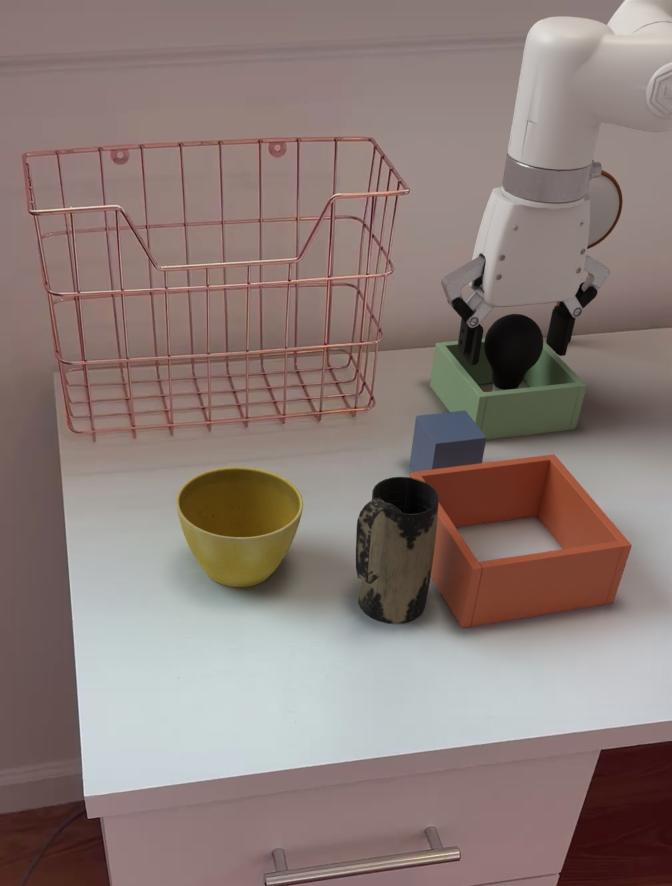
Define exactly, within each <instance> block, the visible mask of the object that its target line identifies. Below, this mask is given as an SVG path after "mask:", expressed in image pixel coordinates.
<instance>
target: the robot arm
mask: <svg viewBox="0 0 672 886" xmlns="http://www.w3.org/2000/svg"><path fill="white" fill-rule="evenodd" d="M522 53H523V54H522V59H521V66H520V73H519V77H518V78H519V79H518V86H517V90H516V91H517V92H516V98H515V104H514V110H513V116H512V122H511V129H510V133H509V134H510V135H509V140H508V147H507V153H506V158H505V166H504V171H503V175H502V176H503V177H502V184H501V186H500V187H494V188H493V189H492V191H491V193H490V196H489V198H488V201H487V203H486V206H485V208H484V212H483V215H482V218H481V221H480V225H479V228H478V232H477V236H476V239H475V244H474V249H473V253H472V257H471V261H469V262H467V263H465V264H464V265H462V266H460V267H459V268H456V269H455V270H453V271H452V272H449V273H448V274H446V275H445V276H443V277H442V278H441V279H440V280H441V281H440V283H441V287H442V290H443V292H444V295H445V297H446V300H447V304H449V306H450V307H451V308H452V309H453V311H455V312H456V314H457V315H458V316H459V317H460V318H461V320H460V327H459V333H458V339H457V341H458V350H459V352H460V353H461V354H462V356H463V357H464V358H465V359H466V360H467V362H468V363H469V364H470V365H476V364H477V363H478V361H479V355H480V349H481V343H482V339H483V338H484V327H483V326H482V325H481V323H482V322H483V321H484V319H485V318H487V316H488V315H489V314H490V313H491V311H492V310H493V309H494V308H508V307H510V308H511V307H524V306H532V305H543V304H544V305H545V304H555V303H557V302H559V306H556V305H554V307H553V308H552V311H551V316H550V321H549V326H548V330H547V334H546V340H545V343H546V344H547V345H548V346H549V347H550V348H551V349H552V350H553V351H554V352H555V353H556V354H557V355H558V356H559V357H564V356H566V354H567V352H568V347H569V344H570V343H571V340H572V335H573V332H574V327H575V323H576V319H578V318H580V317H581V316H582V315H583V312H584V309H585V308H586V307H587V306H588V305H589V304H590V303H591V302H593V300H594V299H595V298H596V297H597V295H598V290H599V289H601V287H602V286H603V285H604V283H605V282H606V281H607V279H608V277H609V276H610V274H611V269H609V268H608V267H607V266H606V265H605V264H603V263H602V262H600V261H599V260H597V259H595V258H593V257H591V256H589V255H588V254H587V253H588V252H587V251H588V249H587V246H588V237H589V225H590V196H589V195H588V194H587V193H586V190H587V189H588V185H589V180H591V179H592V178H598V177H599V176H600V175H601V171H602V170H603V169H602V168H603V166H602V164H601V161H595V160H594V156H595V151H596V146H597V142H598V137H599V132H600V129H601V123H605V124H610V125H615V126H620V127H624V128H628V129H632V130H636V131H641V132H642V131H643V132H649V133H664V132H670V131H672V0H623V2H622V3H621V4H620V6H619V7H618V8H617V9H616V11H615V12H614V13H613V15H612V16H611V18H610V19H609V20H608V22H607V24H605V23H604V22H601V21H598V20H595V19H590V18H585V17H578V16H565V15H564V16H550V17H546V18H543V19H540V20H537V22H535V23H534V24H533V25H532V27H530V29H529V31H528V32H527V35H526V38H525V43H524V47H523V52H522ZM584 272H586V273H587V276H586V277H585V280H584V281H583V282H582V279H583V274H584ZM467 285H468V286H469V288H470V289H472V290H473V291H471V292H470V294H469V295H468V296H467V297H466V298H465V300H464V297H463V294H462V289H463V288H464V287H465V286H467Z"/></svg>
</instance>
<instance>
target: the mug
mask: <svg viewBox="0 0 672 886" xmlns="http://www.w3.org/2000/svg"><path fill="white" fill-rule="evenodd" d="M371 495H372V496H371V500H370V501H369V502H367V503H366V504H365V505H364V506H363V508H362V509H361V510H360V512H359V515H358V517H357V519H356V536H355V537H356V538H355V570H356V575H357V579H359V580H361V583H360V586H359V587H360V588H359V592H358V596H357V597H358V598H357V600H358V601H357V603H358V605H359V608H360V609H361V611H362V612H363V613H364V614H365V615H366V616H368V617H369V618H370V619H372V620H374V621H377V622H380V623H384V624H390V625H400V624H401V625H402V624H406V623H410V622H413V621H415V620H416V619H418V618H420V617H421V615H422V614H423V613H424V610H425V608H426V604H427V598H428V595H429V590H430V582H431V570H432V564H433V557H434V549H435V540H436V530H437V521H438V502H439V498H438V494H437V492H436V490H435V489H434V488H433V487H432V486H431V485H429V484H427V483H426V482H424V481H421V480H418V479H415V478H410V476H409V477H408V476H394V477H388V478H385V479H382V480H381V481H378V483H377V484H375V485H374V487H373V488H372V492H371Z"/></svg>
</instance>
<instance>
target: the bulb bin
mask: <svg viewBox="0 0 672 886" xmlns="http://www.w3.org/2000/svg"><path fill="white" fill-rule="evenodd" d="M484 341H485V337H482V343H481V349H480V355H479V361H478V363H477V364H476V365H470V364H469V363H468V362H467V360H466V359H465V358H464V357H463V356H462V354H461V353H460V352H459V350H458V340H453V341H443V342H441V341H440V342H436V343H435V348H434V354H433V360H432V361H433V362H432V368H431V375H430V381H429V386H430V388H431V389H432V390H433V392H434V393H435V394H436V396H437V397H438V399H439V400H440V402H441V403H442V404H443V405H444V407H445V408H446V409H447V411H448V412H455V411H464V410H465V411H466V412H467V413H468V414H469V416H470V417H471V418H472V419H473V421H474V422H475V423H476V425H477V426H478V427H479V428H480V430H481V431H482V432H483V434H484V435H485V436H486V441H489V440H496V439H504V438H513V437H520V436H521V437H522V436H529V435H530V436H531V435H538V434H546V433H547V434H548V433H555V432H564V431H570V430H571V431H572V430H576V429H577V426H578V422H579V418H580V415H581V410H582V407H583V402H584V398H585V394H586V390H587V384H586V383H585V382H584V380H582V378H581V377H580V376H579V375H577V373H575V372H574V370H573V369H571V368H570V367H569V365H568V364H566V362H564V361H563V359H562V358H560V357H561V356H559V355H557V354H556V353H555V352H554V351H553V350H552V349H551V348H550V347H549V345H548V344H547V343H546V341H544V340H543V350H542V353H541V356H540V358H539V360H538V361H537V362H536V364H535V365H534V366H533V367H531V368H530V369H529V370H528V371H527V372H526V373H525V375H524V377H523V379H522V381H524V382H525V383H526V384H527V385H528V386H529V387H519V388H517V389H510V390H501V391H492V390H491V391H484V390H483V389H482V388H481V387H480V386H479V385H483V384H484V385H485V384H493V380H492V368H491V365H490V363H489V362H488V360H487V358H486V355H485V351H484Z"/></svg>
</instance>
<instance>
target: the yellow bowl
mask: <svg viewBox="0 0 672 886" xmlns="http://www.w3.org/2000/svg"><path fill="white" fill-rule="evenodd" d="M175 507H176V511H177V515H178V520H179V523H180V527H181V530H182V532H183V533H182V534H183V536H184V538H185V541H186V543H187V545H188V547H189V550H190V552H191V553H192V556H193V557H194V558H195V560H196V562H197V563H198V565H199V566H200V567H201V569H202V570H203V571H204V572H205V574H206V575H207V576H208V577H209V578H210V579H211V580H212V581H214V582H215V583H217V584H220V585H222V586H225V587H230V588H250V587H254V586H257V585H259V584H261V583H263V582H265V581H266V580H267V579H269V578H270V576H272V574H273V573H274V572H275V571H276V570H277V568H279V565H280V564H282V562H283V560H284V558H285V556H286V555H287V553H288V551H289V550H290V548H291V545H292V543H293V541H294V539H295V537H296V534H297V531H298V529H299V525H300V522H301V518H302V514H303V510H304V500H303V496H302V494H301V492H300V490H299V488H297V487H296V486H295V485H294V483H292V482H291V481H290V480H288V479H287V478H285V477H283V476H282V475H281V476H280V475H278V474H277V473H274V472H272V471H268V470H265V469H261V468H256V467H247V466H226V467H219V468H214V469H210V470H207V471H203V472H201V473H199V474H197V475H195V476H193V477H191V478H190V479H188V480H187V481H186V482H185V483H184V484H183V485H182V486H181V487H180V489H179V490H178V492H177V495H176V498H175Z"/></svg>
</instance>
